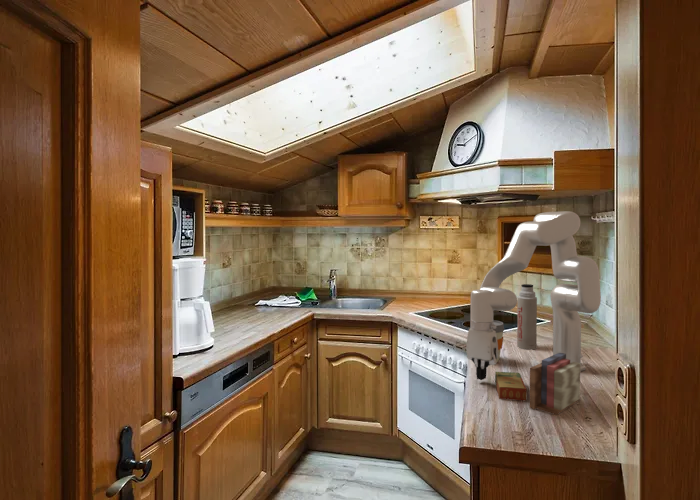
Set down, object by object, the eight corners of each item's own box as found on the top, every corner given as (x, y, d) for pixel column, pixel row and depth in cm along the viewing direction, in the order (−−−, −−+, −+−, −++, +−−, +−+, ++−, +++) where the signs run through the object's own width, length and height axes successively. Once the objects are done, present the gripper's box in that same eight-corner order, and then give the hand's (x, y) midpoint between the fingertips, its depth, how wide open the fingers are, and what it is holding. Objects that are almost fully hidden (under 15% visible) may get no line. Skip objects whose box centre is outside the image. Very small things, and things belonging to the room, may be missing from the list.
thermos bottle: (520, 349, 193) (521, 285, 192) (514, 344, 201) (515, 283, 200) (539, 349, 193) (539, 285, 192) (532, 344, 201) (533, 283, 200)
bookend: (556, 392, 143) (557, 350, 142) (582, 399, 137) (583, 355, 136) (529, 408, 131) (529, 361, 130) (556, 416, 125) (556, 367, 124)
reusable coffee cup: (472, 353, 188) (472, 318, 187) (503, 356, 184) (504, 320, 183) (470, 362, 176) (470, 324, 175) (503, 365, 172) (504, 326, 171)
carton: (498, 399, 138) (498, 386, 138) (494, 382, 154) (494, 370, 154) (527, 401, 136) (527, 388, 136) (520, 384, 152) (520, 371, 152)
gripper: (507, 327, 149) (507, 381, 150) (469, 321, 160) (469, 371, 161) (495, 331, 144) (495, 386, 145) (456, 324, 155) (456, 375, 156)
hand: (481, 378), depth 153 cm, fingers closed
